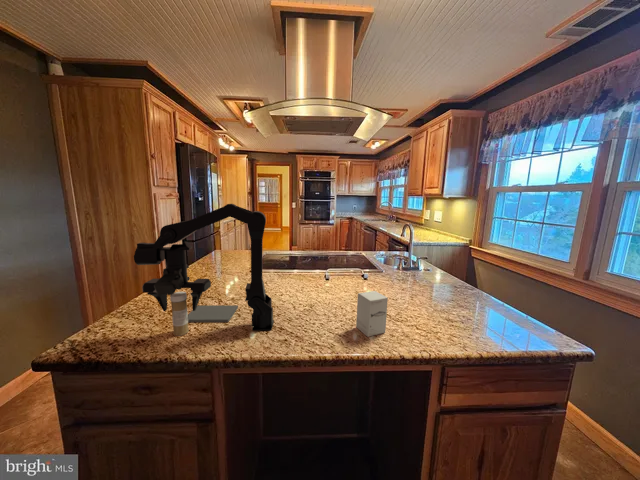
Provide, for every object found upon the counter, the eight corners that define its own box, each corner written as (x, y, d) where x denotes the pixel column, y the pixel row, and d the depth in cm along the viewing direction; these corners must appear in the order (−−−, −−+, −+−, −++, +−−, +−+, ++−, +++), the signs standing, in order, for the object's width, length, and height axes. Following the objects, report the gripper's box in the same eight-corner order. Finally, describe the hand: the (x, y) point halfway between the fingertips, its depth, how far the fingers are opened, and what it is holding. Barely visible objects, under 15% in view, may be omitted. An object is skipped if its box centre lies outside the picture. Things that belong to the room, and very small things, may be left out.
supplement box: (367, 337, 80) (369, 300, 78) (355, 327, 87) (357, 292, 85) (386, 333, 83) (388, 297, 81) (373, 323, 90) (374, 289, 88)
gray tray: (238, 307, 100) (237, 305, 100) (228, 322, 89) (228, 319, 88) (197, 307, 100) (197, 305, 100) (182, 322, 88) (182, 319, 88)
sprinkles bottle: (177, 329, 83) (174, 291, 81) (191, 328, 84) (188, 290, 82) (170, 336, 79) (167, 296, 77) (185, 336, 79) (182, 296, 77)
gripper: (126, 270, 69) (132, 323, 72) (194, 271, 70) (198, 322, 72) (151, 261, 80) (156, 306, 83) (210, 261, 81) (212, 306, 83)
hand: (179, 310), depth 80 cm, fingers open, 9 cm apart
